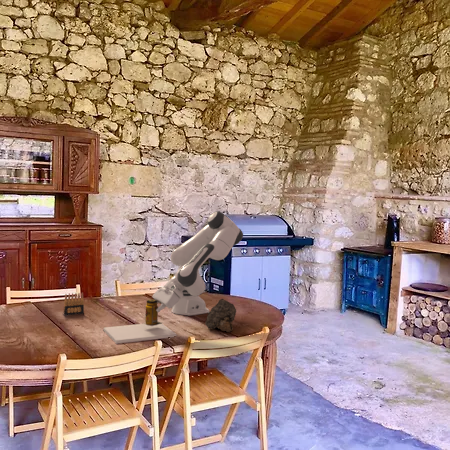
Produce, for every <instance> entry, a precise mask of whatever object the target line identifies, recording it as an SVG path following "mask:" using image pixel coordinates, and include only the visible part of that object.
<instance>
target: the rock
mask: <svg viewBox="0 0 450 450" xmlns="http://www.w3.org/2000/svg"><path fill="white" fill-rule="evenodd" d="M236 314H237V308H236V307H235V305H234V303H231V302H230V301H228V300H226V299H224V298H221V299H219V300H218V301H217V303H216V304H215V306H212V308H211V309H210V310H209V313H207V315H206V316H207V317H206V321H205V326H207V328H208V329H209V330H211V329H212V330H214V329H217V328H218V329H219V330H220V331H222V332H224V331H226V332H225V333H231V332H232V331H233V330H234V326H233V321H235V317H236Z"/></svg>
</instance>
